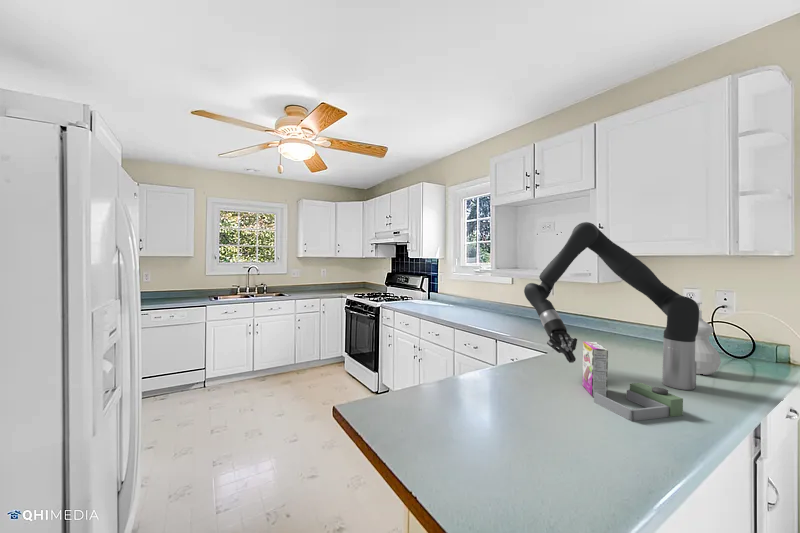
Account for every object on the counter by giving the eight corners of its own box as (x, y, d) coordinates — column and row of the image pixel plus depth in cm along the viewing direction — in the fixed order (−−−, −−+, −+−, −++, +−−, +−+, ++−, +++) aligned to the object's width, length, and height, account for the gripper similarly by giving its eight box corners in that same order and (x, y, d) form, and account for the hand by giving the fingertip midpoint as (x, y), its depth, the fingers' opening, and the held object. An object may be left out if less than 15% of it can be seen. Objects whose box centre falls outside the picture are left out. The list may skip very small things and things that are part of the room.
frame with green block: (640, 397, 118) (641, 379, 118) (682, 415, 104) (683, 395, 104) (594, 402, 113) (594, 383, 113) (631, 421, 100) (632, 400, 100)
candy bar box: (581, 385, 128) (582, 341, 128) (596, 387, 127) (597, 341, 127) (591, 397, 117) (592, 348, 117) (607, 398, 116) (609, 349, 116)
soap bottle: (726, 376, 142) (728, 303, 142) (711, 379, 137) (714, 304, 137) (678, 364, 157) (680, 299, 157) (663, 367, 152) (665, 300, 152)
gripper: (542, 318, 140) (562, 357, 128) (571, 317, 143) (593, 355, 131) (534, 328, 145) (552, 367, 133) (561, 328, 148) (582, 365, 137)
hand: (572, 361), depth 132 cm, fingers closed
